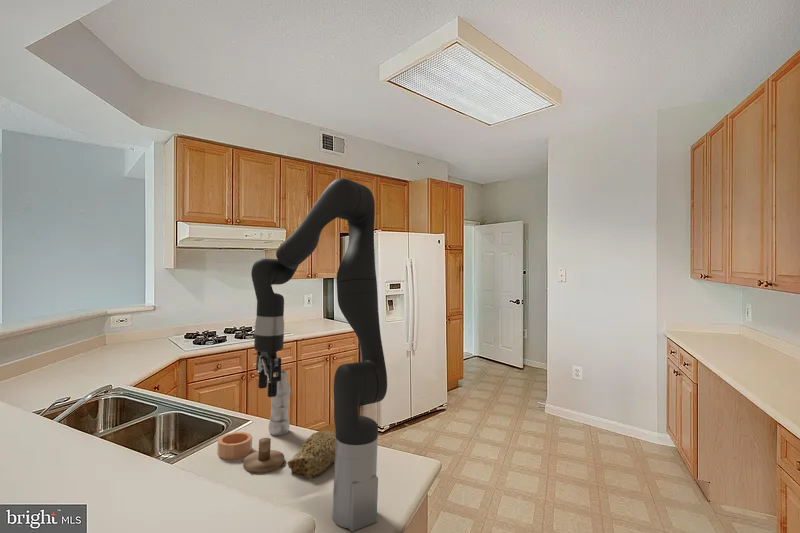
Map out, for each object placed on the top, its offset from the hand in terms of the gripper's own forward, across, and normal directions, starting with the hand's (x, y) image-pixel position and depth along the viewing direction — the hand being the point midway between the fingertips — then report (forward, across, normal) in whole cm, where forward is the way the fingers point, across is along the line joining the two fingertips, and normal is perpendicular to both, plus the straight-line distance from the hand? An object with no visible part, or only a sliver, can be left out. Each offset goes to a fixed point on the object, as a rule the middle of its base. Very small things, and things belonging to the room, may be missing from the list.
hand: (267, 392), depth 106 cm
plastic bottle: (+20, +18, -10) cm, 29 cm away
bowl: (+20, +11, +5) cm, 23 cm away
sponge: (+20, -6, -13) cm, 25 cm away
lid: (+19, 0, 0) cm, 19 cm away
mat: (+20, 0, 0) cm, 20 cm away
